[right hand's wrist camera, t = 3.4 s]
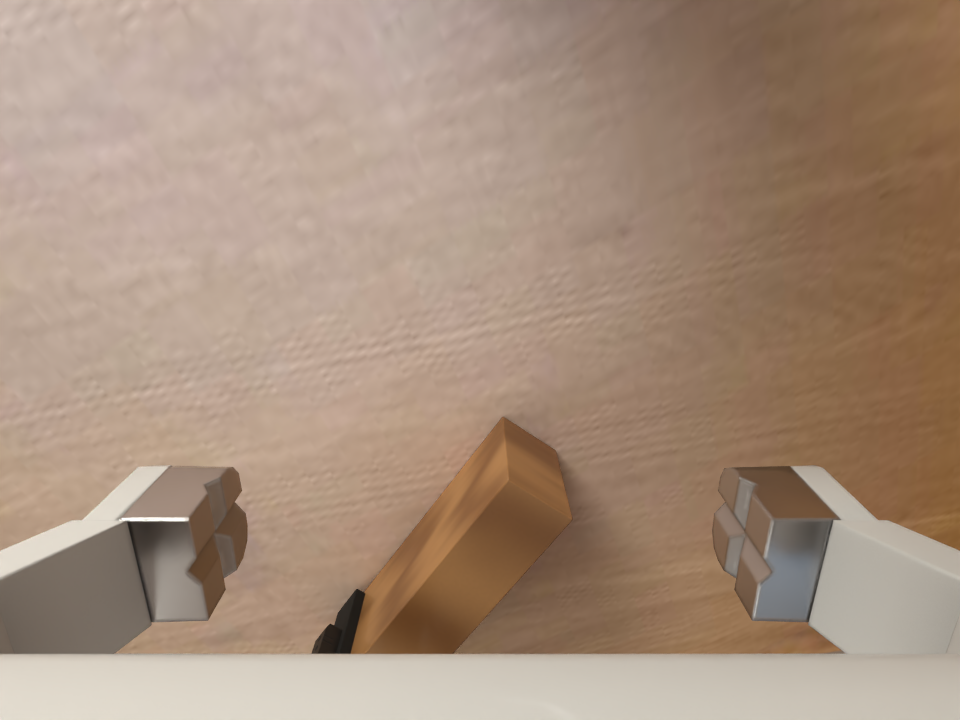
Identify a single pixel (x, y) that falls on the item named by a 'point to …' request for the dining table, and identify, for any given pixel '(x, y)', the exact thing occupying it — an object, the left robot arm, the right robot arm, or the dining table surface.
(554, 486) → the bar
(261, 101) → the dining table surface
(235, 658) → the right robot arm
